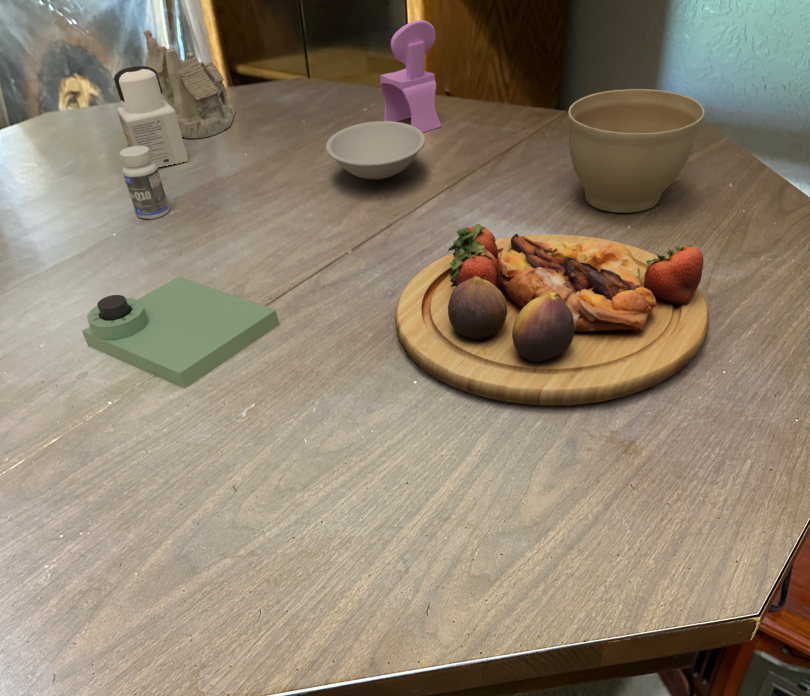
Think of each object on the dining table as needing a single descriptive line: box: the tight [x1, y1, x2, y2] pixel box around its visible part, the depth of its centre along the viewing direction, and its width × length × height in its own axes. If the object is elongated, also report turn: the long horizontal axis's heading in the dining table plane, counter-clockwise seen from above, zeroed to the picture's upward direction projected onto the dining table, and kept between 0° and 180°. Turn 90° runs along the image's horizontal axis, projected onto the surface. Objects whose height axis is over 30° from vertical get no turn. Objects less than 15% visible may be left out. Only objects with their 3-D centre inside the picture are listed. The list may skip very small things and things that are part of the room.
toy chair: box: [379, 19, 442, 133], centre depth 117 cm, size 8×9×15 cm
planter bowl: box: [567, 88, 705, 214], centre depth 92 cm, size 16×16×11 cm
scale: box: [81, 276, 280, 389], centre depth 78 cm, size 16×14×4 cm
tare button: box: [96, 294, 130, 321], centre depth 77 cm, size 3×3×2 cm
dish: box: [325, 120, 426, 180], centre depth 105 cm, size 18×14×5 cm
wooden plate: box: [394, 223, 710, 406], centre depth 73 cm, size 32×32×8 cm
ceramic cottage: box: [143, 29, 237, 140], centre depth 127 cm, size 16×16×15 cm
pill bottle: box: [119, 146, 170, 220], centre depth 101 cm, size 5×5×8 cm
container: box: [113, 65, 189, 168], centre depth 114 cm, size 8×8×13 cm
